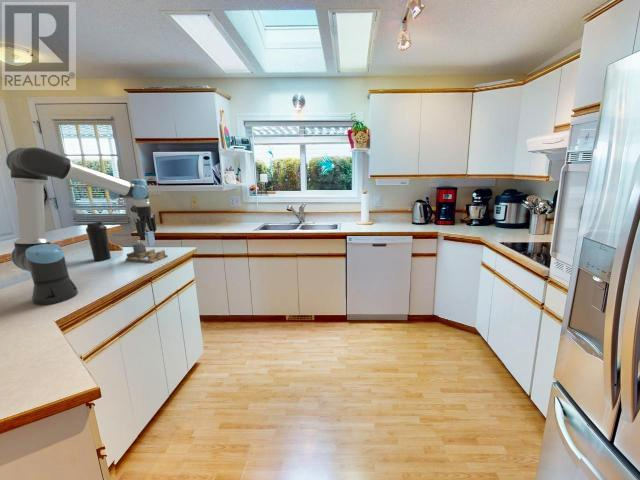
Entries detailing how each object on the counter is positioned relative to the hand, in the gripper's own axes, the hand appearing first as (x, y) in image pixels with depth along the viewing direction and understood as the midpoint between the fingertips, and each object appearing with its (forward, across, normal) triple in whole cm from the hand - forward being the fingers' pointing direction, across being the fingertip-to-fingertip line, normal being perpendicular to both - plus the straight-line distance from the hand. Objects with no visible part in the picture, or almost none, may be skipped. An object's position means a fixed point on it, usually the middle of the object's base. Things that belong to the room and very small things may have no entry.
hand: (149, 244), depth 181 cm
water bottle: (+10, -7, +31) cm, 33 cm away
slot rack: (+10, 0, +4) cm, 11 cm away
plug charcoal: (+8, 0, +8) cm, 12 cm away
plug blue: (0, 0, 0) cm, 0 cm away
